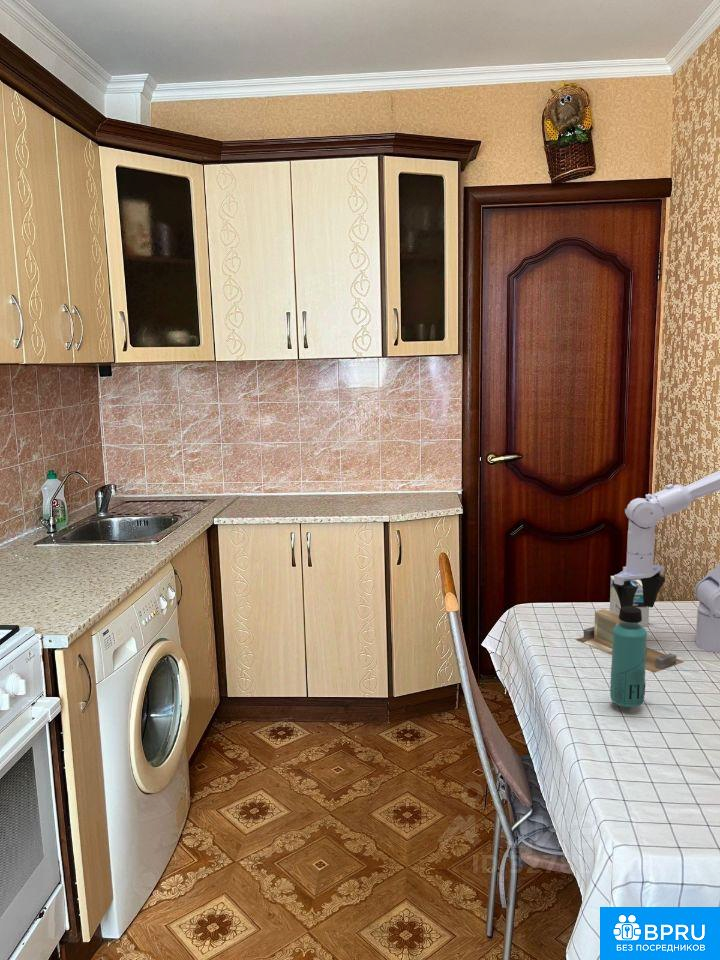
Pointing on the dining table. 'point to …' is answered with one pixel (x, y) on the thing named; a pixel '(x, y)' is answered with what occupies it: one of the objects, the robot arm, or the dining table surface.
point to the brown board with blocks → (654, 658)
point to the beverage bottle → (628, 659)
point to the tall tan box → (605, 626)
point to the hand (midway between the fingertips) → (637, 609)
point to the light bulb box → (637, 602)
